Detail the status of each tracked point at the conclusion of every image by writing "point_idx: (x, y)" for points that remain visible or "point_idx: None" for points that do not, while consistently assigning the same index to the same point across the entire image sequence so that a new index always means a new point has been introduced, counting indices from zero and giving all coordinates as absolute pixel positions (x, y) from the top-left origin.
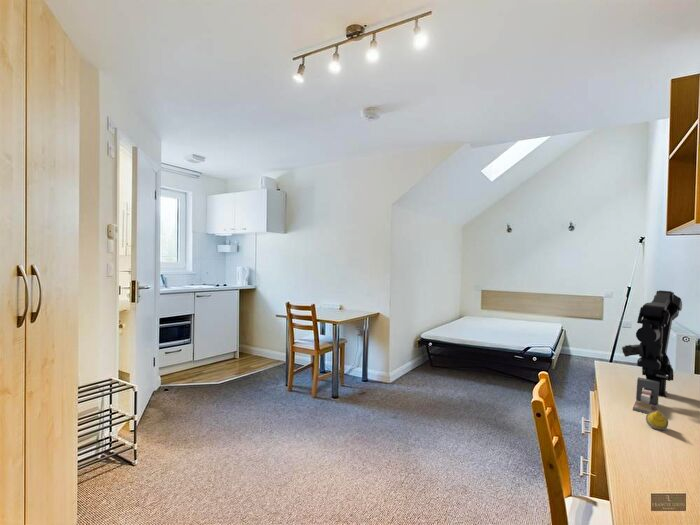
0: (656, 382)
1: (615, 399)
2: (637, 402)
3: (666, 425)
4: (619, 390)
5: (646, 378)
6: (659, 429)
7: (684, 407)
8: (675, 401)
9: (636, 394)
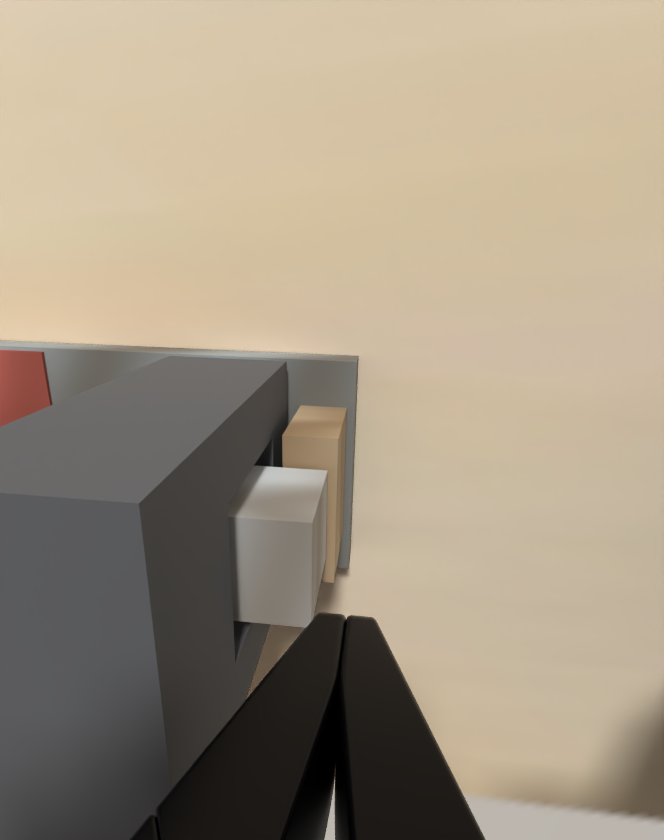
0: (32, 834)
1: (90, 105)
2: (100, 373)
3: None
4: (647, 84)
5: (267, 681)
6: None
7: (441, 737)
8: (606, 695)
9: (134, 372)
